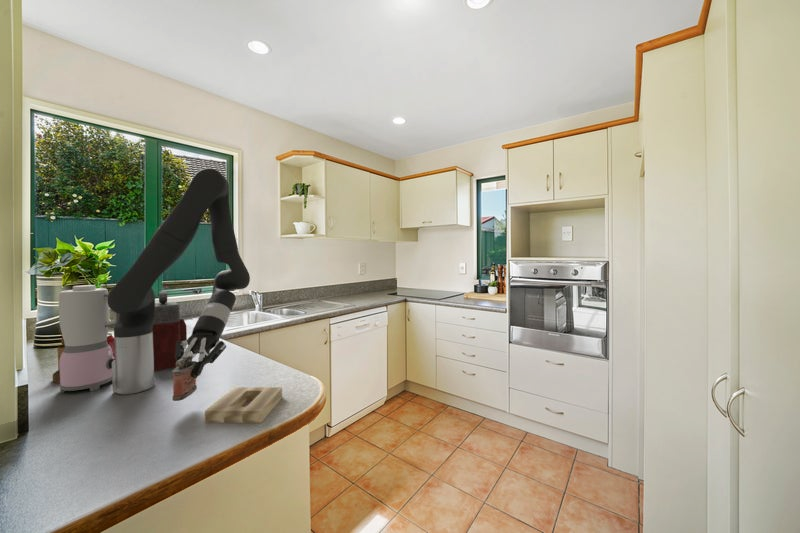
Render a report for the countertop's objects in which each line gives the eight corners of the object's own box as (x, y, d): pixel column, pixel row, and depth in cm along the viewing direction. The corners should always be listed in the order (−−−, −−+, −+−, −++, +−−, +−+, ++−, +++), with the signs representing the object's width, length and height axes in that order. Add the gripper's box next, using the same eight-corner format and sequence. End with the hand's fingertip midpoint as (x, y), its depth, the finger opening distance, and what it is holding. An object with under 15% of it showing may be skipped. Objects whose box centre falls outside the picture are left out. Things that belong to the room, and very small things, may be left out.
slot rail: (205, 422, 80) (204, 410, 80) (234, 397, 94) (234, 387, 94) (261, 422, 80) (260, 410, 80) (282, 397, 94) (282, 387, 94)
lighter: (187, 387, 89) (186, 352, 88) (199, 387, 89) (199, 351, 89) (168, 401, 81) (168, 361, 80) (183, 400, 81) (182, 361, 81)
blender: (48, 396, 95) (42, 288, 93) (78, 380, 106) (74, 284, 105) (111, 391, 98) (107, 287, 97) (134, 376, 110) (130, 283, 109)
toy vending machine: (188, 364, 122) (186, 291, 121) (151, 372, 114) (148, 293, 113) (184, 359, 128) (182, 289, 127) (149, 365, 121) (146, 291, 120)
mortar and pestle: (62, 383, 105) (60, 328, 104) (47, 381, 106) (44, 327, 105) (86, 375, 111) (83, 323, 110) (71, 374, 112) (69, 323, 112)
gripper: (183, 313, 94) (151, 369, 82) (231, 314, 94) (206, 371, 82) (194, 327, 100) (166, 382, 88) (240, 328, 100) (218, 383, 88)
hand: (186, 376), depth 85 cm, fingers closed on lighter, 3 cm apart
